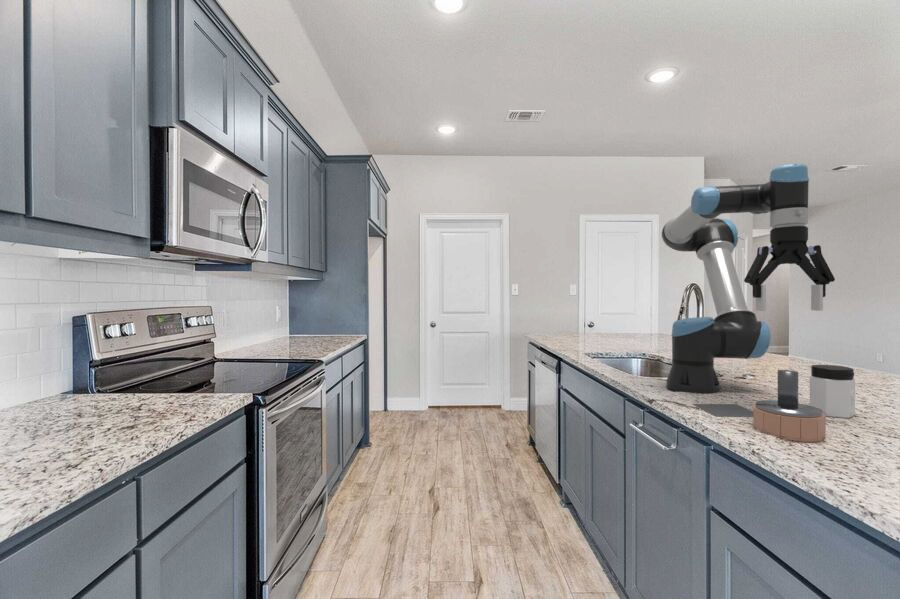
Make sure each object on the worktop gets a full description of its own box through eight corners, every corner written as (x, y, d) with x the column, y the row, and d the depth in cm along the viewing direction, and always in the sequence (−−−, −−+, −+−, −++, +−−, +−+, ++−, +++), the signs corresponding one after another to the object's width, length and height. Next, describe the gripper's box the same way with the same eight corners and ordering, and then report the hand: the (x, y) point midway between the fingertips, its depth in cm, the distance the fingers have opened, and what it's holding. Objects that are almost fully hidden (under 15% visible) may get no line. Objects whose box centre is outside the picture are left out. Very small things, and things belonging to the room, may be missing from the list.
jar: (847, 420, 102) (848, 371, 102) (805, 412, 109) (805, 366, 109) (858, 414, 107) (858, 367, 107) (817, 407, 114) (817, 363, 114)
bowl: (741, 423, 101) (741, 402, 100) (795, 424, 100) (795, 403, 100) (777, 441, 88) (777, 418, 88) (840, 442, 87) (840, 419, 87)
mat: (691, 406, 117) (691, 403, 117) (736, 406, 116) (736, 404, 116) (715, 418, 105) (715, 416, 105) (766, 419, 104) (766, 417, 104)
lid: (744, 403, 100) (744, 366, 100) (796, 403, 99) (796, 366, 99) (778, 417, 89) (778, 376, 88) (837, 418, 88) (837, 376, 88)
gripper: (746, 225, 104) (746, 311, 104) (854, 223, 102) (853, 310, 102) (728, 230, 111) (728, 310, 111) (828, 228, 109) (828, 309, 110)
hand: (788, 310), depth 107 cm, fingers open, 13 cm apart
